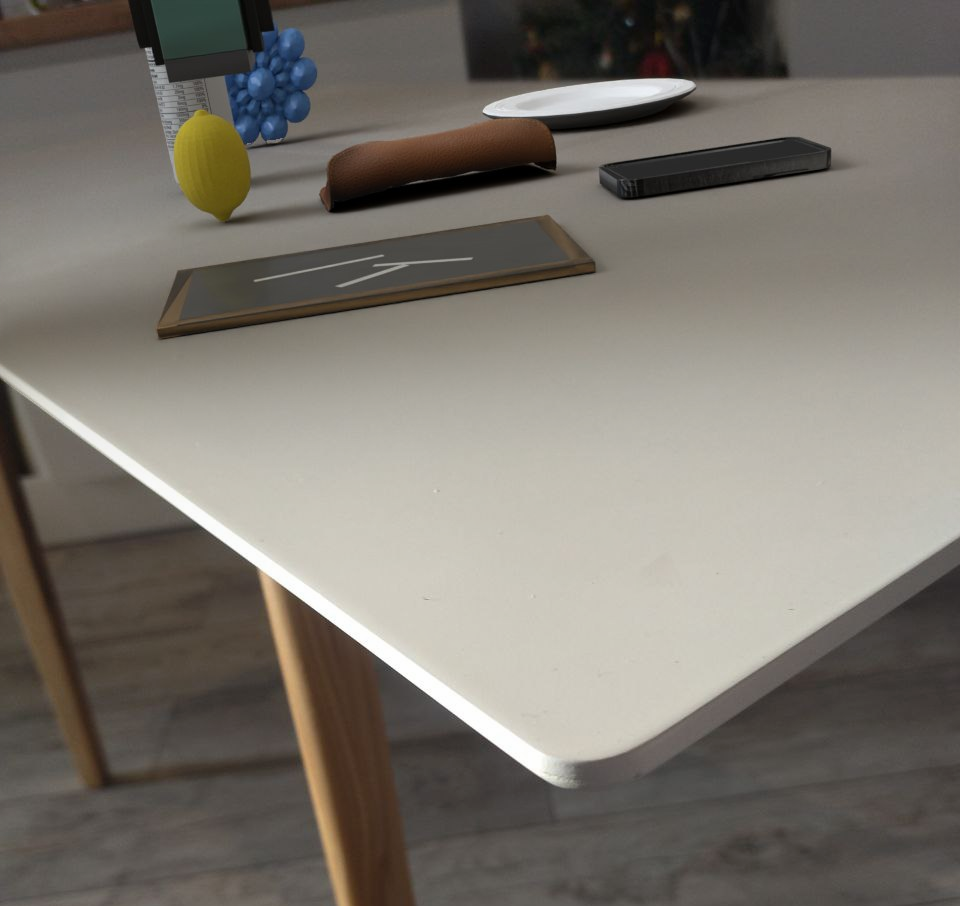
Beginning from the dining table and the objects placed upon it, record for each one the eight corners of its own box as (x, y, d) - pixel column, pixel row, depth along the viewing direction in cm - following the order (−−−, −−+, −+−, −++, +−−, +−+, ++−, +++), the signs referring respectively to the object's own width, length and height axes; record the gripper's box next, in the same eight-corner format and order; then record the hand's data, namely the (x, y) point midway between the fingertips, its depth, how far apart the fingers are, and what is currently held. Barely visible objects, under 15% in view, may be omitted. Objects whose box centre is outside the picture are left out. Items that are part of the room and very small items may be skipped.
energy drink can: (259, 180, 109) (222, -8, 102) (217, 194, 105) (175, -1, 97) (207, 181, 112) (167, -2, 105) (164, 196, 108) (119, 6, 100)
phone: (595, 165, 89) (795, 134, 89) (596, 181, 89) (795, 151, 90) (620, 182, 82) (837, 149, 83) (621, 199, 82) (836, 166, 83)
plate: (440, 136, 120) (438, 115, 119) (569, 99, 133) (568, 80, 132) (613, 136, 107) (612, 113, 106) (738, 95, 120) (737, 74, 119)
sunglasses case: (525, 154, 101) (531, 81, 95) (553, 210, 98) (561, 138, 92) (312, 191, 98) (305, 118, 92) (333, 251, 94) (327, 179, 88)
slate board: (158, 339, 65) (155, 328, 65) (179, 279, 78) (177, 270, 77) (596, 272, 67) (595, 260, 67) (549, 224, 79) (548, 214, 79)
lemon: (262, 221, 92) (239, 107, 88) (188, 234, 91) (162, 118, 87) (258, 209, 96) (236, 100, 92) (188, 221, 96) (162, 111, 92)
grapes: (329, 131, 133) (308, 9, 128) (328, 139, 128) (306, 11, 122) (223, 146, 133) (198, 24, 127) (217, 155, 127) (190, 27, 121)
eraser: (251, 72, 59) (233, -21, 57) (168, 83, 59) (148, -10, 57) (256, 61, 65) (240, -23, 63) (181, 71, 65) (163, -13, 63)
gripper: (309, -408, 56) (371, 31, 66) (-56, -366, 56) (58, 73, 65) (309, -455, 50) (378, 39, 59) (-104, -408, 49) (31, 86, 58)
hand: (210, 52), depth 62 cm, fingers closed on eraser, 4 cm apart
